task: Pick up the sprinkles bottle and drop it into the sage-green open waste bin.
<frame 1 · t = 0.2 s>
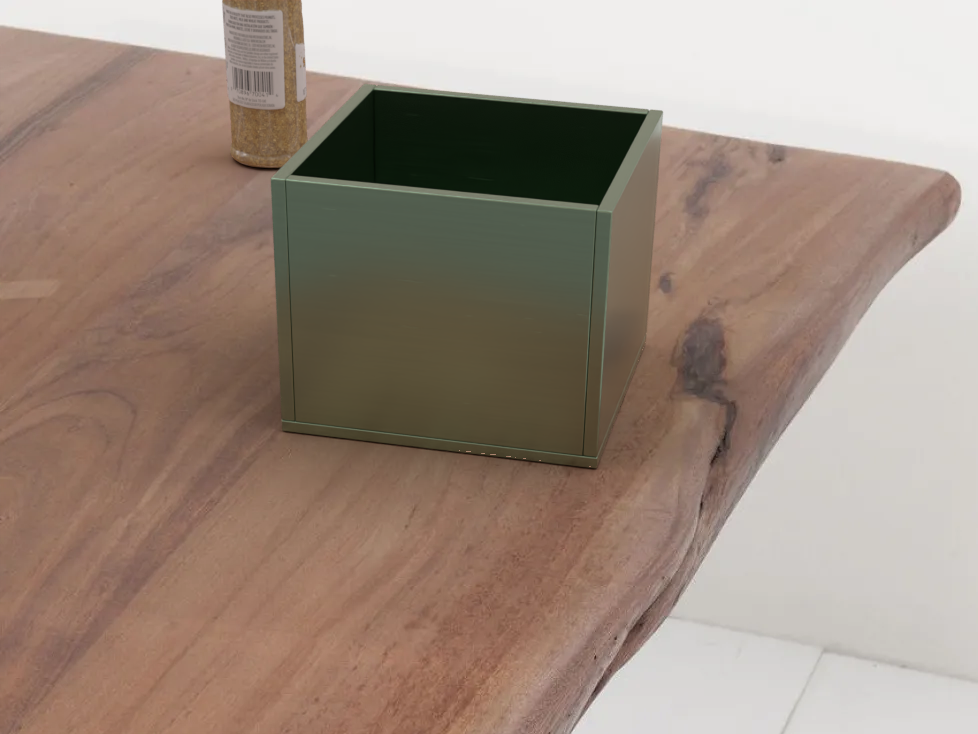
sprinkles bottle: (269, 161, 106), on the table
bin: (473, 385, 82), on the table
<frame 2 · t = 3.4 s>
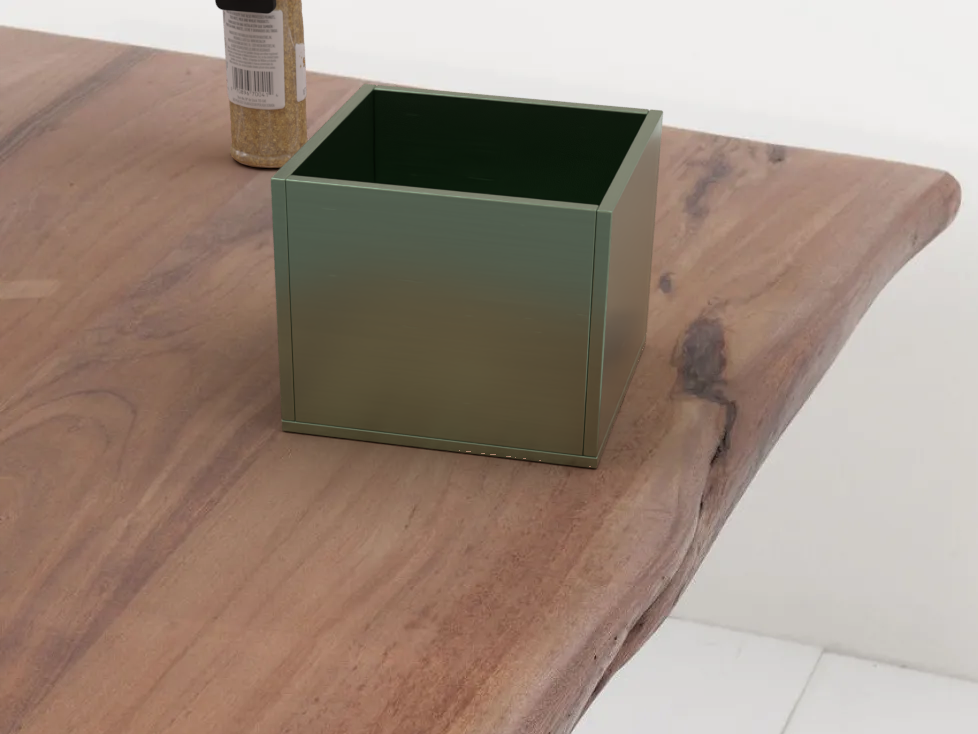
sprinkles bottle: (269, 161, 106), on the table, touching gripper
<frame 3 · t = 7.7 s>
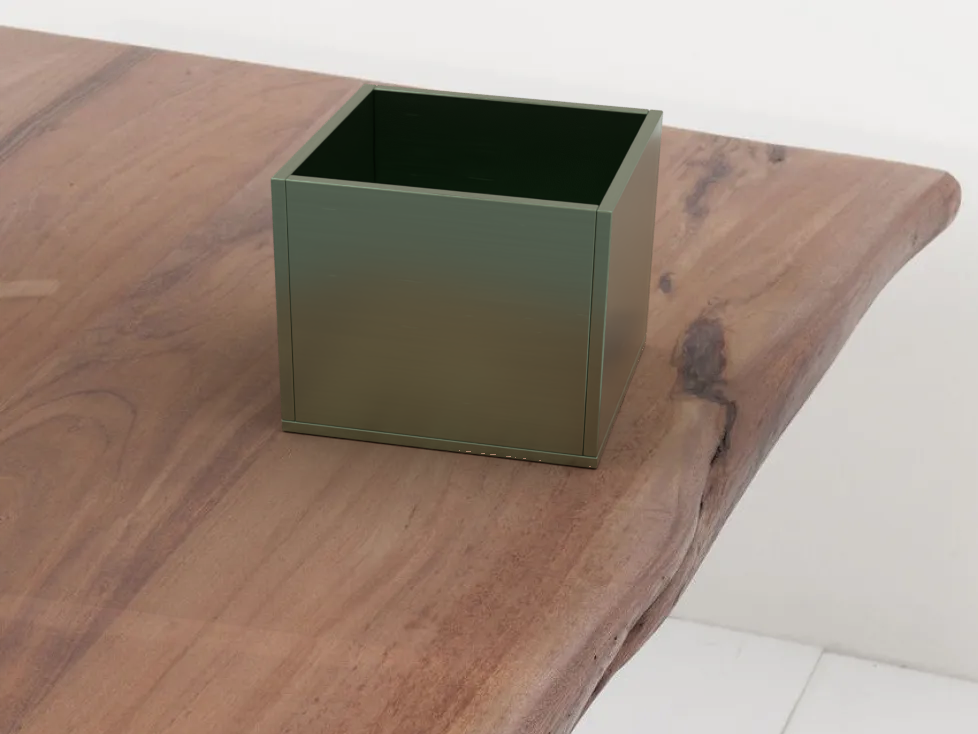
when the fingers open (10 cm above the table, at t = 12.0 s): sprinkles bottle stays where it is, resting on bin.
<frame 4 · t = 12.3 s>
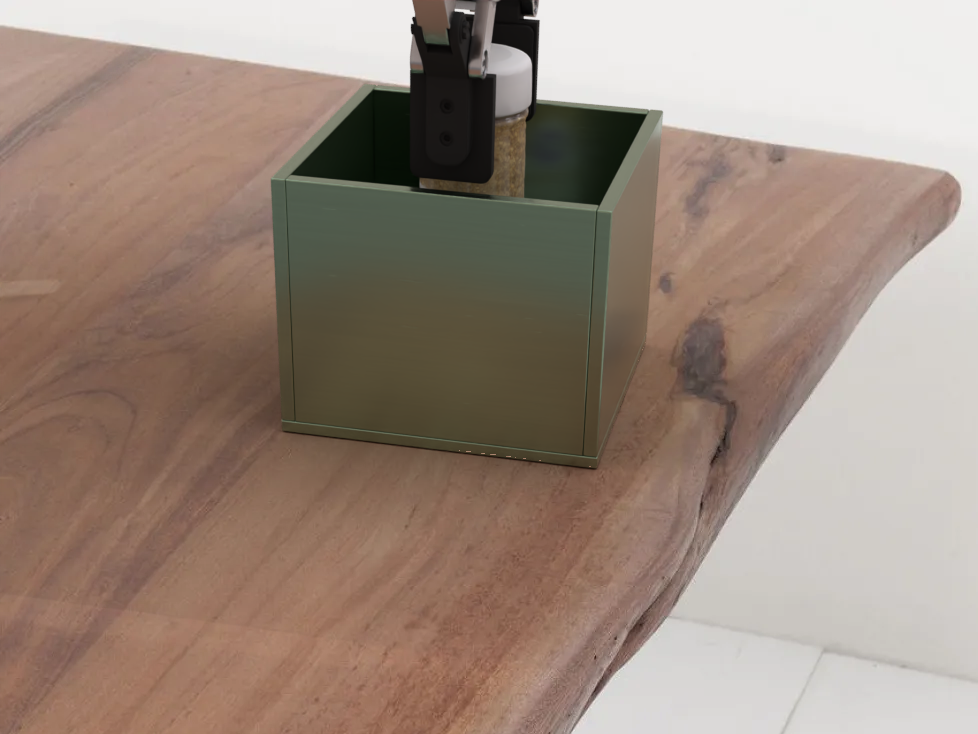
hand: (475, 143, 76), 10 cm above the table, tool pointing down, fingers open, 7 cm apart
sprinkles bottle: (469, 378, 82), resting on bin
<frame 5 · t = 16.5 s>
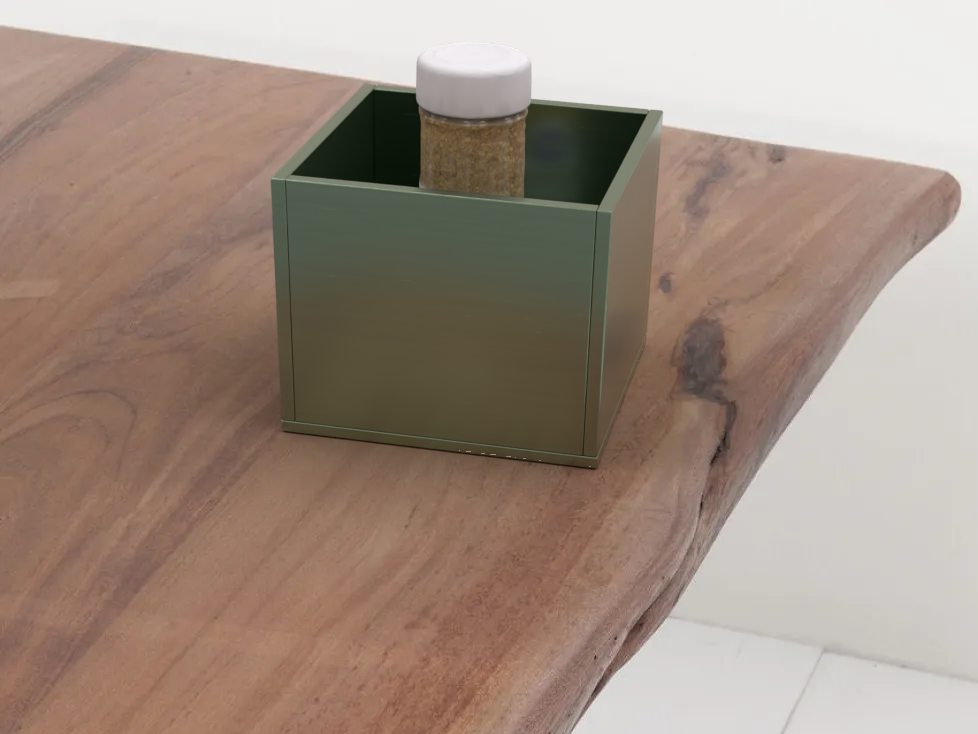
nothing on the table moved.
at the end: sprinkles bottle inside the target area in the bin (0.2 cm from its centre), point 0.3 cm above the bin's base; the gripper is holding nothing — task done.
